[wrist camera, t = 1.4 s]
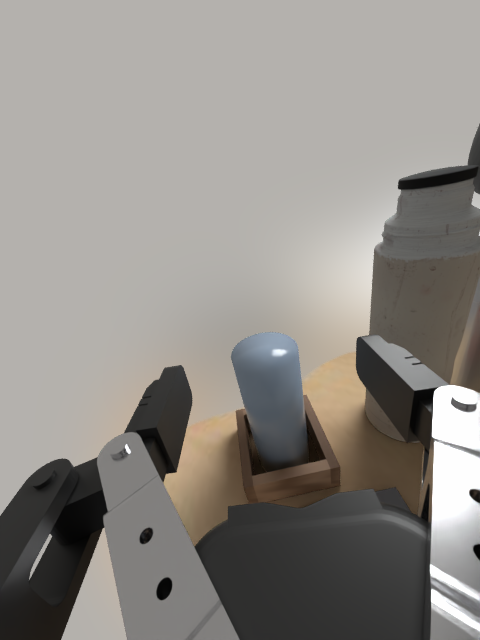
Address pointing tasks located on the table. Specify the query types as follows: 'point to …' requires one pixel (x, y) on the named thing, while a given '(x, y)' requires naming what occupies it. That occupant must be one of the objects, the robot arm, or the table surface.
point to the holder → (294, 477)
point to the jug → (273, 398)
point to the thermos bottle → (426, 273)
